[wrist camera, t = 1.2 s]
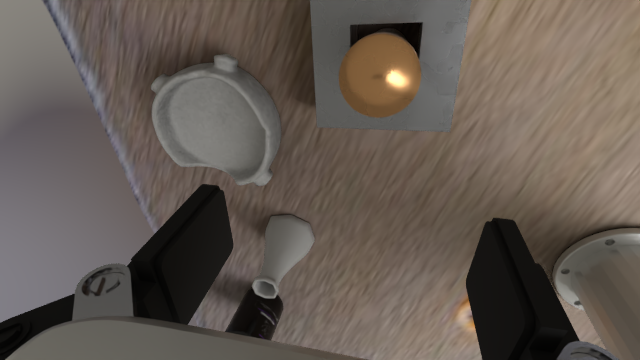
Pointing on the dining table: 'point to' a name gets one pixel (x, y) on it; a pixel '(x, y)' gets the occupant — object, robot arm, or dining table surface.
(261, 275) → the flask
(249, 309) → the supplement bottle
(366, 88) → the pin
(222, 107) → the dish
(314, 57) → the gray square-hole block
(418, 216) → the dining table surface
